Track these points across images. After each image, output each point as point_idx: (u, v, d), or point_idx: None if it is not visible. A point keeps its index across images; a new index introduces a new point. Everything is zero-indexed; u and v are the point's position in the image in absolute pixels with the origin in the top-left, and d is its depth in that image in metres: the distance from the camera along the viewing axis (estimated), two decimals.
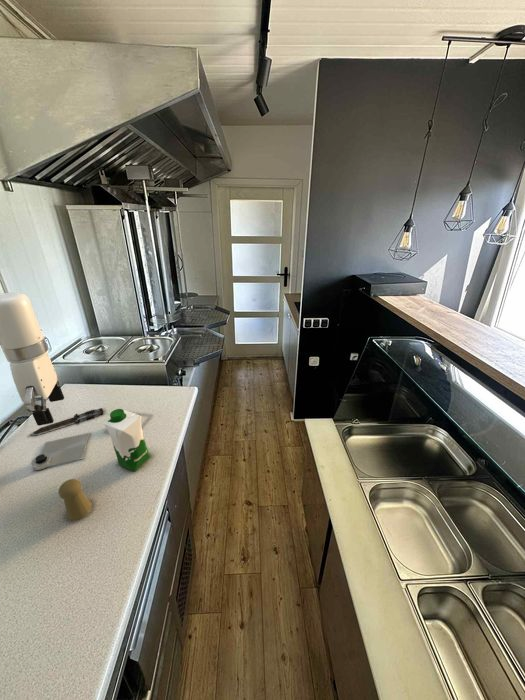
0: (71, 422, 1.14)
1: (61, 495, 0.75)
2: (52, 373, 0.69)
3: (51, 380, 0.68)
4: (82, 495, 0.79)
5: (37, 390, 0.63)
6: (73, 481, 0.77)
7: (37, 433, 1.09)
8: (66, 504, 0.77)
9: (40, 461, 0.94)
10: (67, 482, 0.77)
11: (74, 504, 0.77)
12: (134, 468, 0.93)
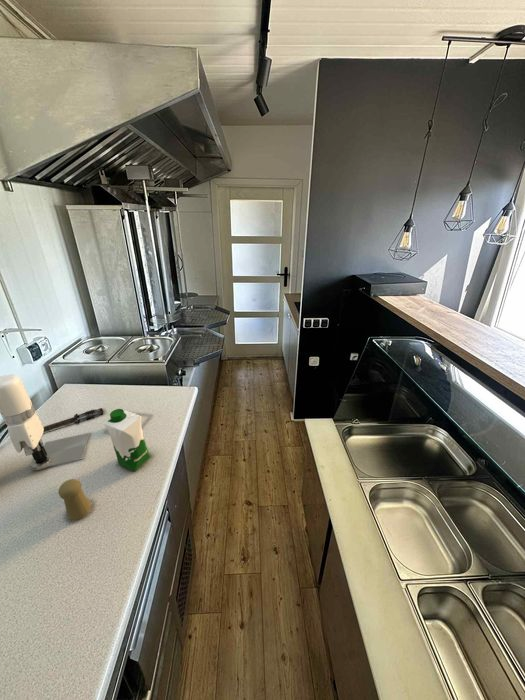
0: (71, 422, 1.14)
1: (61, 495, 0.75)
2: (39, 427, 0.92)
3: (38, 433, 0.91)
4: (82, 495, 0.79)
5: (27, 443, 0.86)
6: (73, 481, 0.77)
7: None
8: (66, 504, 0.77)
9: (40, 462, 0.94)
10: (67, 482, 0.77)
11: (74, 504, 0.77)
12: (134, 468, 0.93)
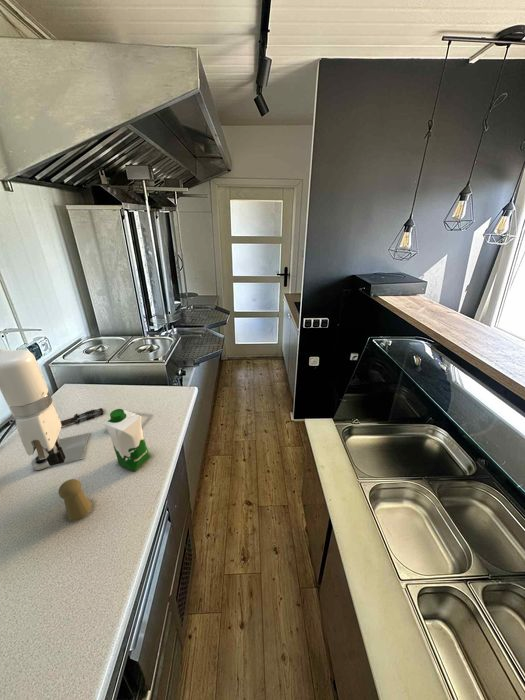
0: (71, 422, 1.14)
1: (61, 495, 0.75)
2: (56, 422, 0.70)
3: (55, 430, 0.69)
4: (82, 495, 0.79)
5: (42, 443, 0.64)
6: (73, 481, 0.77)
7: None
8: (66, 504, 0.77)
9: (40, 461, 0.94)
10: (67, 482, 0.77)
11: (74, 504, 0.77)
12: (134, 468, 0.93)
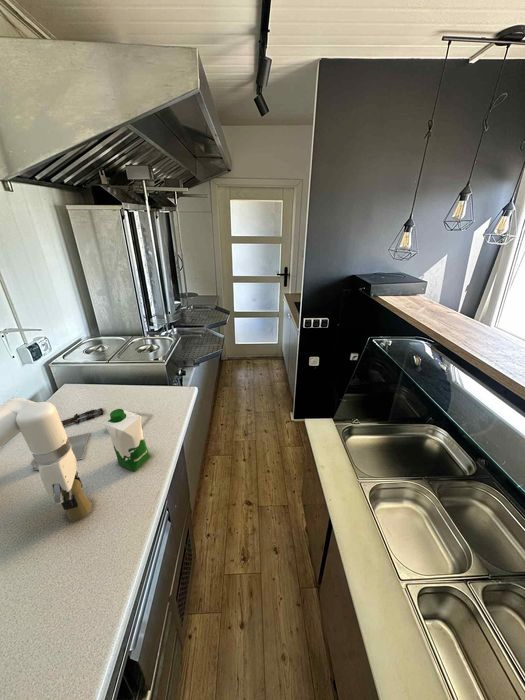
0: (71, 422, 1.14)
1: None
2: (73, 463, 0.76)
3: (73, 470, 0.75)
4: (82, 495, 0.79)
5: (62, 486, 0.70)
6: (73, 481, 0.77)
7: None
8: None
9: None
10: None
11: None
12: (134, 468, 0.93)
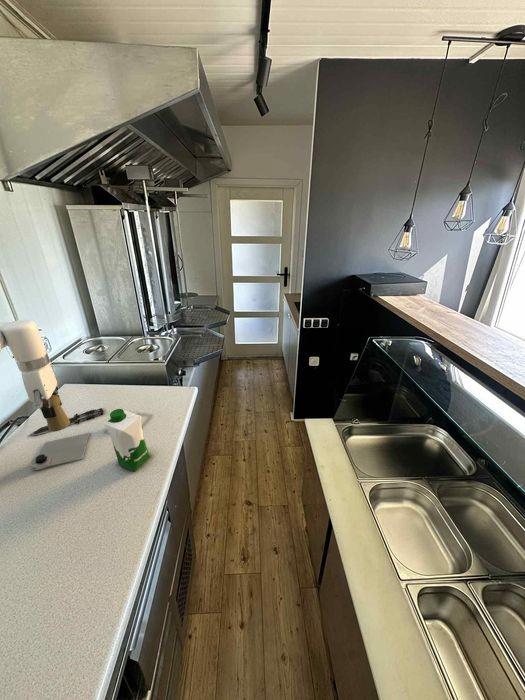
0: (71, 422, 1.14)
1: None
2: (53, 379, 0.89)
3: (52, 385, 0.88)
4: (61, 409, 0.92)
5: (41, 392, 0.83)
6: (53, 396, 0.90)
7: (37, 433, 1.09)
8: None
9: (40, 461, 0.94)
10: None
11: None
12: (134, 468, 0.93)
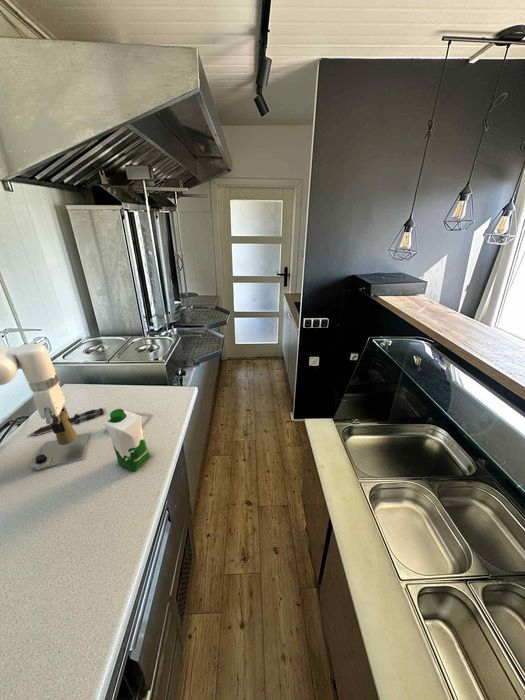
0: (71, 422, 1.14)
1: None
2: (61, 397, 0.96)
3: (61, 402, 0.95)
4: (69, 424, 0.99)
5: (51, 410, 0.90)
6: (61, 412, 0.97)
7: (37, 433, 1.09)
8: None
9: (40, 461, 0.94)
10: None
11: None
12: (134, 468, 0.93)
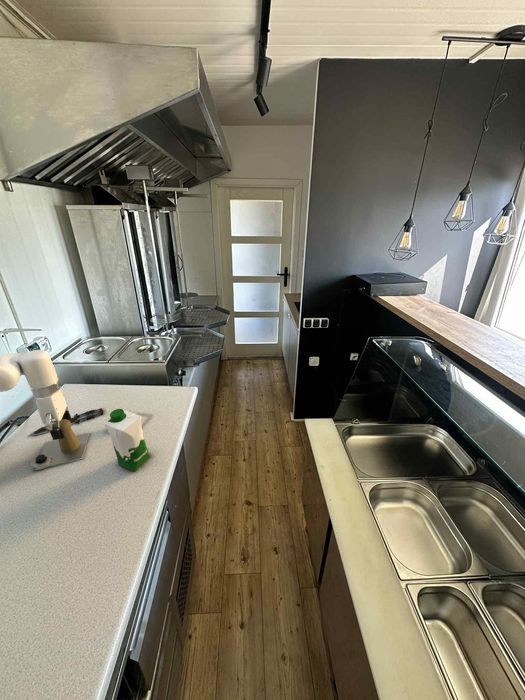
0: (71, 422, 1.14)
1: None
2: (63, 402, 0.97)
3: (63, 407, 0.96)
4: (72, 432, 1.00)
5: (53, 416, 0.91)
6: (64, 420, 0.99)
7: (37, 433, 1.09)
8: None
9: (40, 461, 0.94)
10: (60, 421, 0.98)
11: (65, 438, 0.98)
12: (134, 468, 0.93)
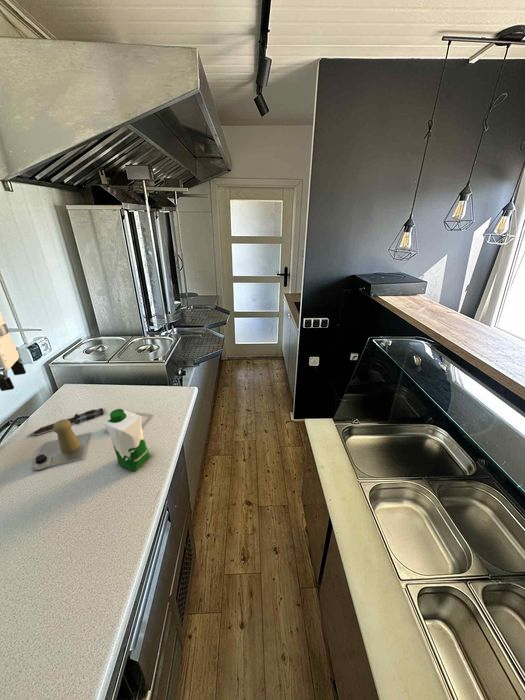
0: (71, 422, 1.14)
1: (55, 429, 0.96)
2: (14, 351, 0.89)
3: (12, 356, 0.88)
4: (72, 432, 1.00)
5: None
6: (64, 420, 0.99)
7: (37, 433, 1.09)
8: (59, 438, 0.98)
9: (40, 461, 0.94)
10: (60, 421, 0.98)
11: (65, 438, 0.98)
12: (134, 468, 0.93)
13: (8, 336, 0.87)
